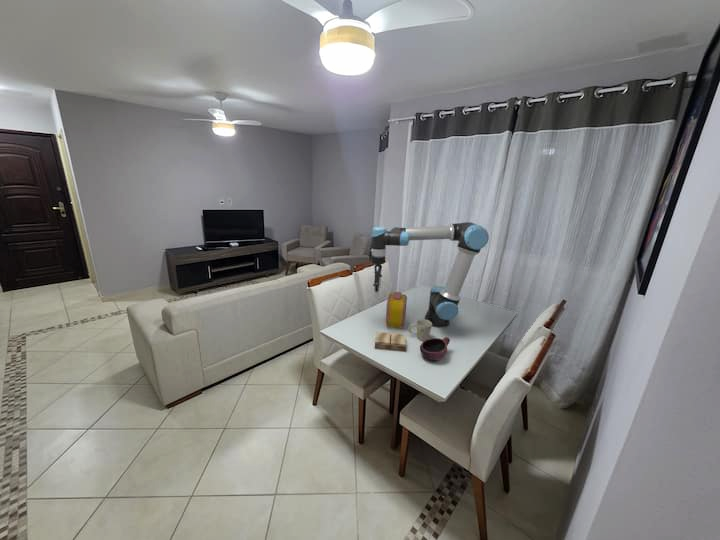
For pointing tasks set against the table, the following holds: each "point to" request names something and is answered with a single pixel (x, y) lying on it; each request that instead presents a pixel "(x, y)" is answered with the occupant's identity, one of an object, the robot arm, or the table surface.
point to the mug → (422, 329)
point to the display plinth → (390, 341)
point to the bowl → (434, 348)
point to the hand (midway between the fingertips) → (377, 292)
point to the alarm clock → (396, 310)
